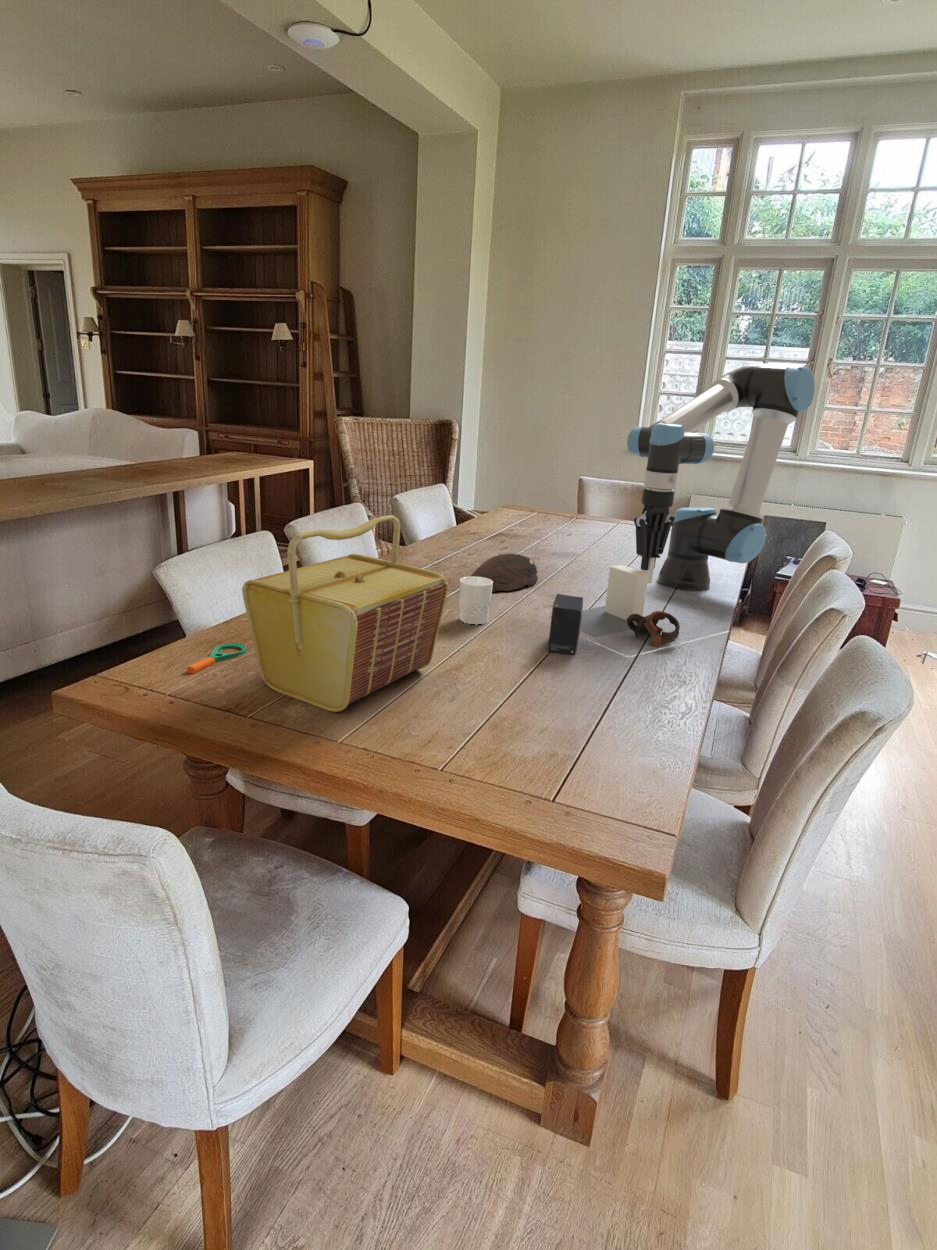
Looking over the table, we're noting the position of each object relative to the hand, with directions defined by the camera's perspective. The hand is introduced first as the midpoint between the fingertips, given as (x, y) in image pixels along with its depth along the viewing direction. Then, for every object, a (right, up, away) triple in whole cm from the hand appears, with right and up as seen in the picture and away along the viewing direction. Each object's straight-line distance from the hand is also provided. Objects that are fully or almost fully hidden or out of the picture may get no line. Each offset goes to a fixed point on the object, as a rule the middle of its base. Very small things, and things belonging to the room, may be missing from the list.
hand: (645, 581), depth 182 cm
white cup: (-44, -10, -10) cm, 46 cm away
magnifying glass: (-95, -18, -41) cm, 105 cm away
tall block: (-6, -9, -1) cm, 11 cm away
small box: (-24, -16, -23) cm, 37 cm away
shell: (-35, +2, +27) cm, 44 cm away
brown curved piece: (-3, -15, -16) cm, 23 cm away
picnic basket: (-68, -22, -47) cm, 85 cm away
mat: (-12, -10, -5) cm, 16 cm away
